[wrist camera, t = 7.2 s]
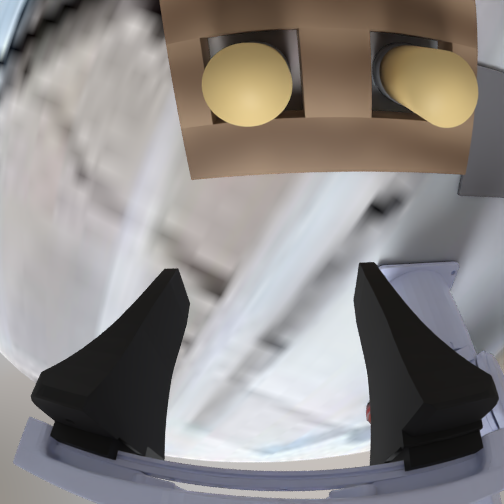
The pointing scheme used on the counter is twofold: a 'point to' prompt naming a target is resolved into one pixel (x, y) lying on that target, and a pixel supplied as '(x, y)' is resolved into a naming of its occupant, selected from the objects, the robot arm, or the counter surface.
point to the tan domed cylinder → (247, 83)
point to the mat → (486, 139)
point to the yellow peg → (427, 82)
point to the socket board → (318, 87)
